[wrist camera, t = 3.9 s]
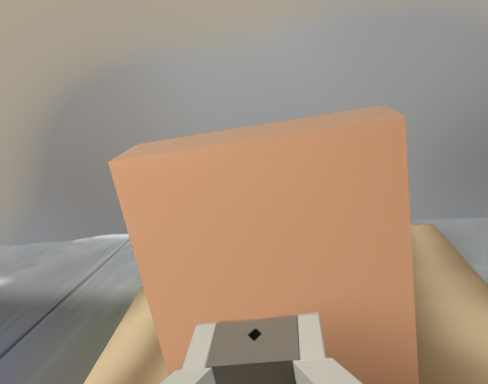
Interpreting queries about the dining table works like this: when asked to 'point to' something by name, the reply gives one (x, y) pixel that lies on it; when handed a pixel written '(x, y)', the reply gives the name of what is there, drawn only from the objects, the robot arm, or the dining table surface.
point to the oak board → (426, 313)
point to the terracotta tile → (280, 234)
